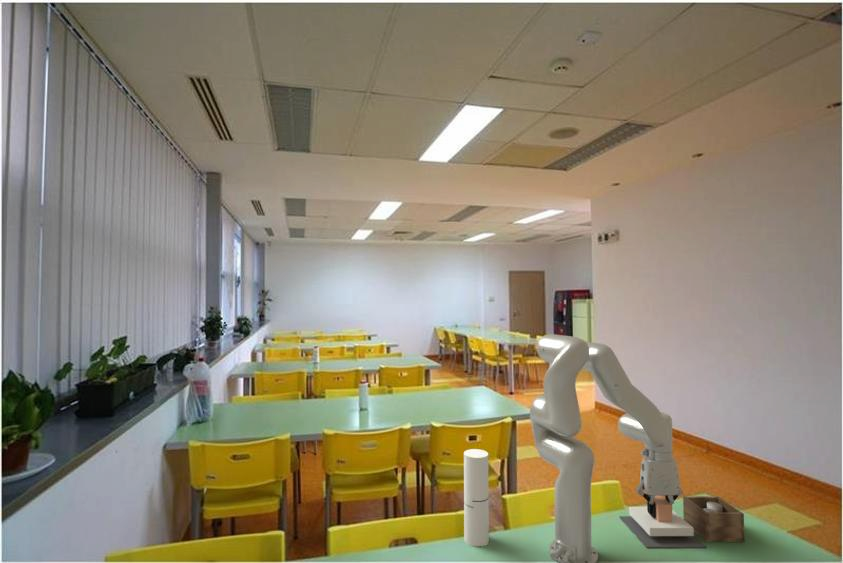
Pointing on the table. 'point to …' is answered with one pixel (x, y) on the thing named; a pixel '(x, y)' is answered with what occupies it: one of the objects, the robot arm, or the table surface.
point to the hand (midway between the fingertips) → (659, 514)
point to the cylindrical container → (476, 497)
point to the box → (714, 518)
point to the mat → (661, 537)
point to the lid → (661, 520)
